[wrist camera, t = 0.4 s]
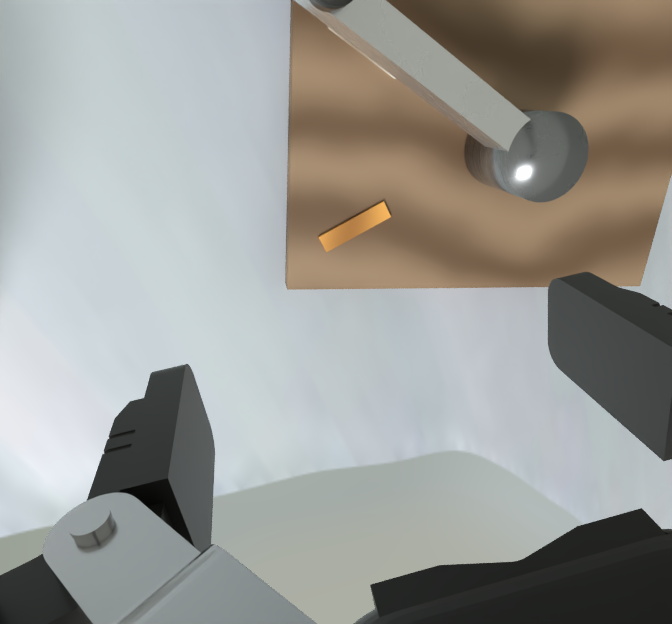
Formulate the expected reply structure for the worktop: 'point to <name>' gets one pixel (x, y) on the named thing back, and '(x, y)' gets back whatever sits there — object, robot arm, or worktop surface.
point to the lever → (466, 103)
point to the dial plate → (449, 142)
